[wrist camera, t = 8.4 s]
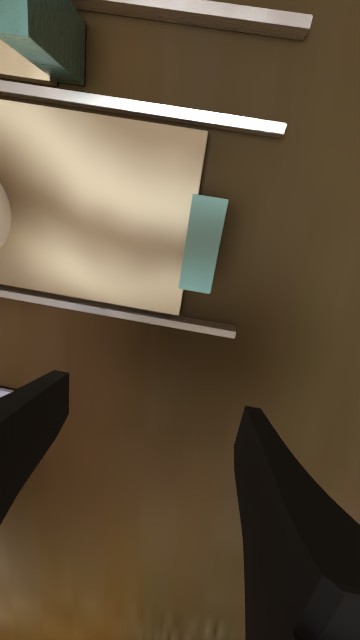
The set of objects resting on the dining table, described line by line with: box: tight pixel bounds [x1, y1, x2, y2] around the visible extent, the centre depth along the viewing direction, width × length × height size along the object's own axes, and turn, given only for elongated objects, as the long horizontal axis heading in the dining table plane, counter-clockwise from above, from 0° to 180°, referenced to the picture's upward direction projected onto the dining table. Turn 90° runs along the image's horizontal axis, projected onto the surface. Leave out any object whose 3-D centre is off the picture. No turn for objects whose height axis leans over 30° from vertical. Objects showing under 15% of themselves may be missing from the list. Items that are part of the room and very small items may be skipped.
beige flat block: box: [0, 99, 228, 316], centre depth 17 cm, size 11×23×6 cm, turn 81°
